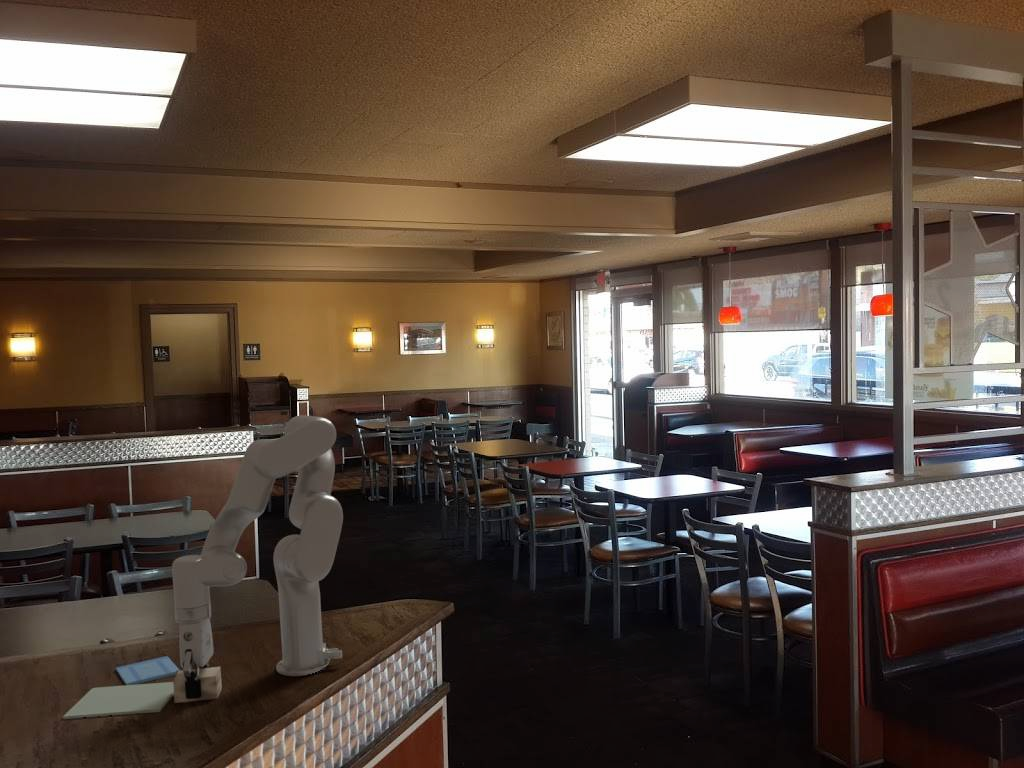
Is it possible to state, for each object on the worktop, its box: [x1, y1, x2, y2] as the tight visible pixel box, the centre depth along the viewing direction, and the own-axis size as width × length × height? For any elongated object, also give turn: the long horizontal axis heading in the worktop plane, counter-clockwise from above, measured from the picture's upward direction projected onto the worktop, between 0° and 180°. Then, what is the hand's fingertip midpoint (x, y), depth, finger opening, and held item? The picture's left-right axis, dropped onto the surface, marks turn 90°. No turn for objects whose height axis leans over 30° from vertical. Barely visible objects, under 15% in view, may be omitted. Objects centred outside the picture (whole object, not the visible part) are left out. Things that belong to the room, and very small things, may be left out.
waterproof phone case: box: [115, 655, 181, 685], centre depth 217 cm, size 14×12×1 cm
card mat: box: [62, 681, 174, 720], centre depth 199 cm, size 20×16×1 cm
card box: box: [172, 666, 223, 704], centre depth 200 cm, size 9×6×5 cm, turn 99°
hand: (198, 691), depth 200 cm, fingers closed on card box, 6 cm apart
